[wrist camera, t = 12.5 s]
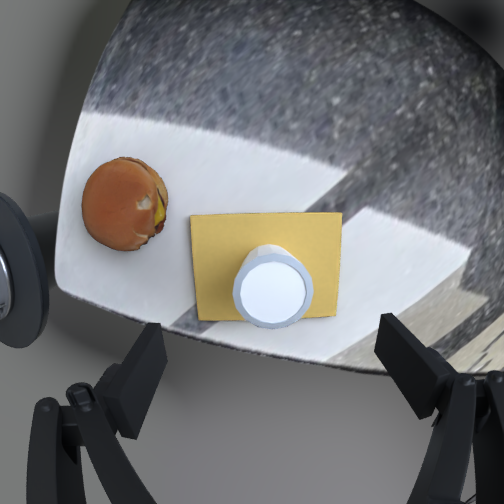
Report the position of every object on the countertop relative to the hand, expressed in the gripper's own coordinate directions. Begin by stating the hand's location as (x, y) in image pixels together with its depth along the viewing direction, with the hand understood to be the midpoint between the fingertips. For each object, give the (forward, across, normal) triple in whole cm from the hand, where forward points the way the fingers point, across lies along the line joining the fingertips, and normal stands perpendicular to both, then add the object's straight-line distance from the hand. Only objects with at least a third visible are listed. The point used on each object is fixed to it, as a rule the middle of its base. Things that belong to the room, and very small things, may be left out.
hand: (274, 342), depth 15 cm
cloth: (+15, +1, 0) cm, 15 cm away
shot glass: (+15, +1, 0) cm, 15 cm away
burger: (+16, -14, +8) cm, 23 cm away
